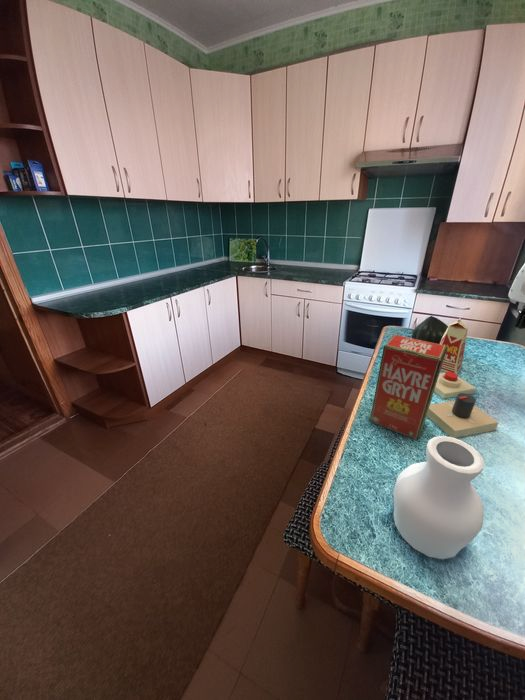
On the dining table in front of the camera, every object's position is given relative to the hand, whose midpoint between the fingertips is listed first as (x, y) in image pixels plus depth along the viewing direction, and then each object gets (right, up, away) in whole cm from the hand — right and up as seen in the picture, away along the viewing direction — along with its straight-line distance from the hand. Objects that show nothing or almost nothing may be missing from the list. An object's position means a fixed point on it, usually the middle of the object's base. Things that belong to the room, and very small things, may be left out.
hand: (521, 327), depth 80 cm
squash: (-1, -6, +43) cm, 44 cm away
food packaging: (-33, -27, +3) cm, 43 cm away
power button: (-9, -16, +16) cm, 25 cm away
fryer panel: (-16, -27, +3) cm, 31 cm away
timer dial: (-16, -24, +1) cm, 29 cm away
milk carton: (-2, -13, +30) cm, 33 cm away
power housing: (-9, -19, +18) cm, 28 cm away
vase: (-40, -41, -23) cm, 62 cm away
